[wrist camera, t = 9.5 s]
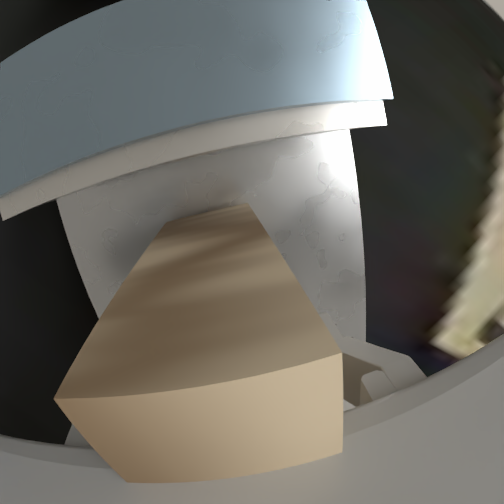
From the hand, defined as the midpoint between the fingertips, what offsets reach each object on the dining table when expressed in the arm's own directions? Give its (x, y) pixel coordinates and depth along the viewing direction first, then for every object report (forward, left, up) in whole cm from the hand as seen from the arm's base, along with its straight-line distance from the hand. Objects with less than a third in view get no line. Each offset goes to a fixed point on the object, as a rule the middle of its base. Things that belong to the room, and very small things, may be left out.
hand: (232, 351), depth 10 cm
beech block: (0, 0, -4) cm, 4 cm away
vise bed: (0, +1, -7) cm, 7 cm away
